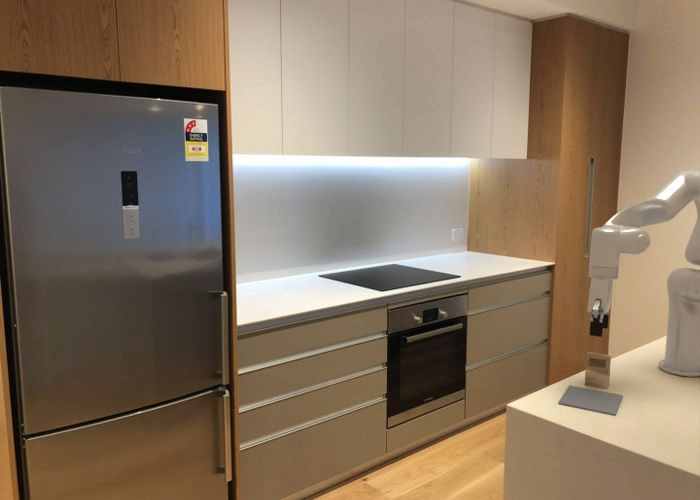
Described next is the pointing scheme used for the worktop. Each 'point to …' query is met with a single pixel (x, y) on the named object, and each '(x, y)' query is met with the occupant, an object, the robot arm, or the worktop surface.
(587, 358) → the oak slab
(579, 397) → the rubber mat
